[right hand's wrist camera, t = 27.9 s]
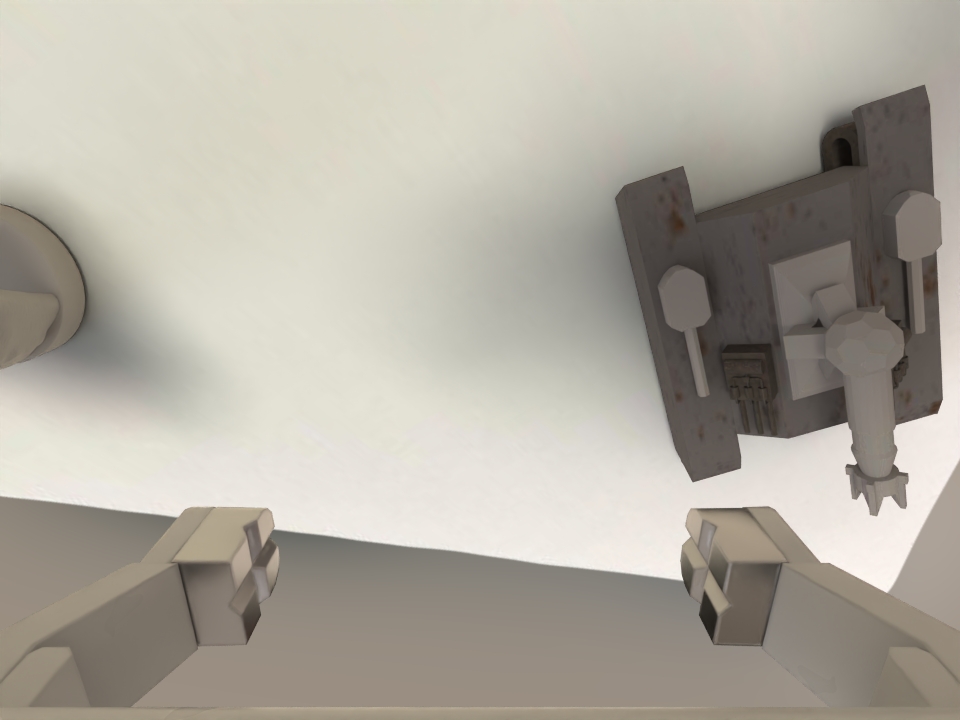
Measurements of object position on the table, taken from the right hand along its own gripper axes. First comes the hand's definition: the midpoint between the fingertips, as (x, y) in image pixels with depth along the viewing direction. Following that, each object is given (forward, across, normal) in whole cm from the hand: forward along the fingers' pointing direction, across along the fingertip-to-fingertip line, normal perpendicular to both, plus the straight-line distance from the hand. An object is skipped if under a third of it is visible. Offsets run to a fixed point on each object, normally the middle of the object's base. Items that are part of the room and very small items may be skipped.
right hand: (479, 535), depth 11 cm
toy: (+36, +24, -4) cm, 43 cm away
